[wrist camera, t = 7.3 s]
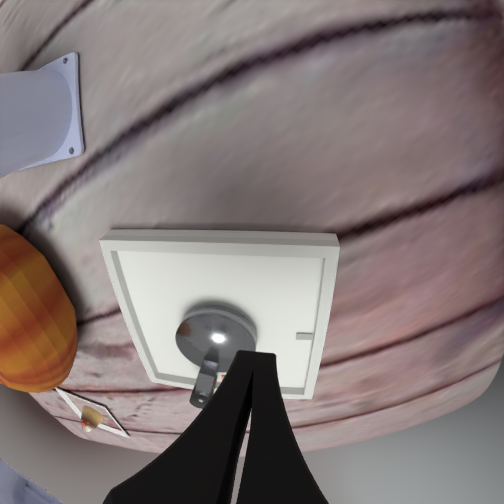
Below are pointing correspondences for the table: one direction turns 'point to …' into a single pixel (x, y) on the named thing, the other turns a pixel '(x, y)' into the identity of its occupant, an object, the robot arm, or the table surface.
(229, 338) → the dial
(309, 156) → the table surface
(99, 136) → the table surface
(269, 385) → the robot arm
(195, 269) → the board
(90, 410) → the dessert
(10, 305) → the pumpkin
